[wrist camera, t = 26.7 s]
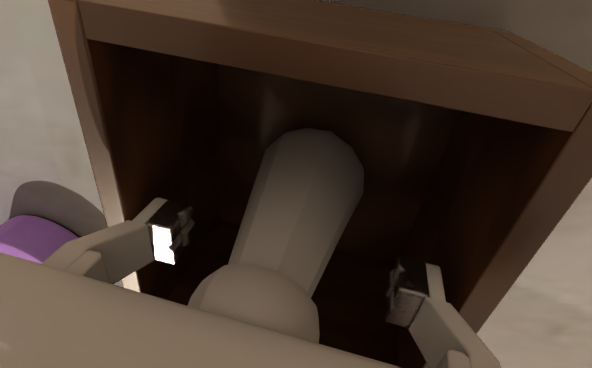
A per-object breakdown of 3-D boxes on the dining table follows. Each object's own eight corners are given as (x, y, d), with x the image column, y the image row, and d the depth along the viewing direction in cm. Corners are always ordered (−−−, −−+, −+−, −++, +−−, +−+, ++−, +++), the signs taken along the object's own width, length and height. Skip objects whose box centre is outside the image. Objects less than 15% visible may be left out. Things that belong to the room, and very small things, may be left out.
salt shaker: (378, 126, 18) (362, 346, 7) (355, 208, 21) (320, 444, 11) (276, 104, 19) (127, 276, 8) (268, 187, 22) (153, 388, 11)
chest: (208, -17, 17) (44, -6, 9) (511, 31, 15) (650, 100, 7) (214, 218, 26) (134, 331, 18) (406, 267, 24) (414, 419, 16)
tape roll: (113, 311, 38) (87, 341, 35) (20, 273, 38) (-14, 301, 35) (106, 240, 31) (74, 270, 28) (-6, 196, 32) (-50, 221, 28)
